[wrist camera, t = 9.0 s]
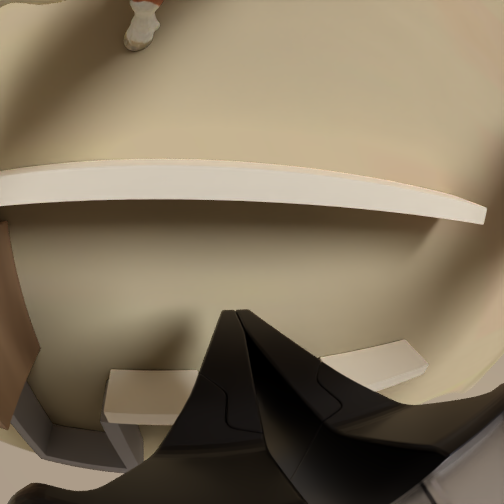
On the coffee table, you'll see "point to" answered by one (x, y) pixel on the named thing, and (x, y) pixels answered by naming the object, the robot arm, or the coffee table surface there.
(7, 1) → the bull figurine
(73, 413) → the coffee table surface
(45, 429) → the trap pen
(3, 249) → the walnut block
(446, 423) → the robot arm
